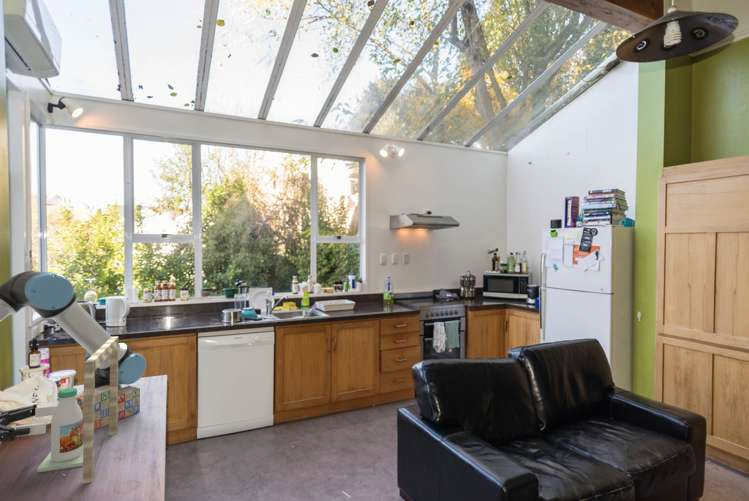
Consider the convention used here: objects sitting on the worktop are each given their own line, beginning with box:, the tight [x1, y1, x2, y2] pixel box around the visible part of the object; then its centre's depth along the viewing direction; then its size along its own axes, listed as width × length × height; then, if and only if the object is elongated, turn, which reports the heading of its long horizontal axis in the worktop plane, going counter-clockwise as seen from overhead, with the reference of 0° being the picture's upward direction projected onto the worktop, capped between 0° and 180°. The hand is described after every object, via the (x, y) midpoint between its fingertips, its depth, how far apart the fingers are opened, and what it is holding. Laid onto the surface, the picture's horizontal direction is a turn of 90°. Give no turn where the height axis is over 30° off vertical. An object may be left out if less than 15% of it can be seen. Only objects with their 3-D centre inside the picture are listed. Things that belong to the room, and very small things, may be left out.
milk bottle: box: [50, 387, 83, 462], centre depth 124 cm, size 8×8×20 cm
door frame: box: [82, 336, 119, 485], centre depth 127 cm, size 32×2×33 cm, turn 21°
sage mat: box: [36, 451, 83, 473], centre depth 124 cm, size 11×11×1 cm
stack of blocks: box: [76, 385, 141, 430], centre depth 151 cm, size 21×6×12 cm, turn 157°
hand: (54, 418), depth 122 cm, fingers open, 13 cm apart
